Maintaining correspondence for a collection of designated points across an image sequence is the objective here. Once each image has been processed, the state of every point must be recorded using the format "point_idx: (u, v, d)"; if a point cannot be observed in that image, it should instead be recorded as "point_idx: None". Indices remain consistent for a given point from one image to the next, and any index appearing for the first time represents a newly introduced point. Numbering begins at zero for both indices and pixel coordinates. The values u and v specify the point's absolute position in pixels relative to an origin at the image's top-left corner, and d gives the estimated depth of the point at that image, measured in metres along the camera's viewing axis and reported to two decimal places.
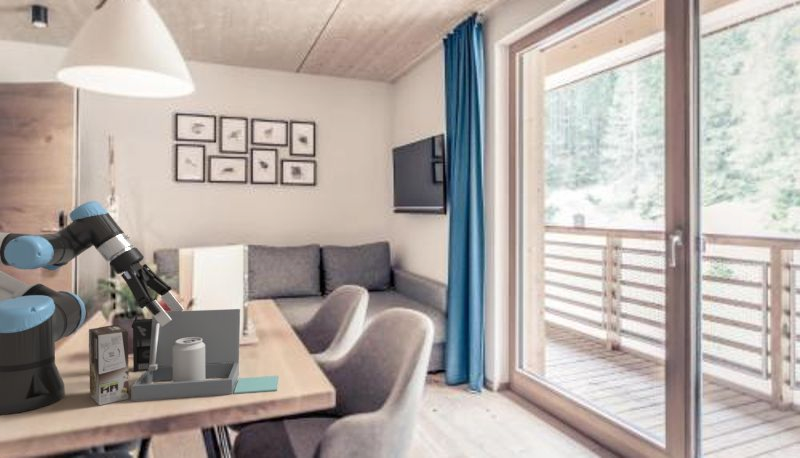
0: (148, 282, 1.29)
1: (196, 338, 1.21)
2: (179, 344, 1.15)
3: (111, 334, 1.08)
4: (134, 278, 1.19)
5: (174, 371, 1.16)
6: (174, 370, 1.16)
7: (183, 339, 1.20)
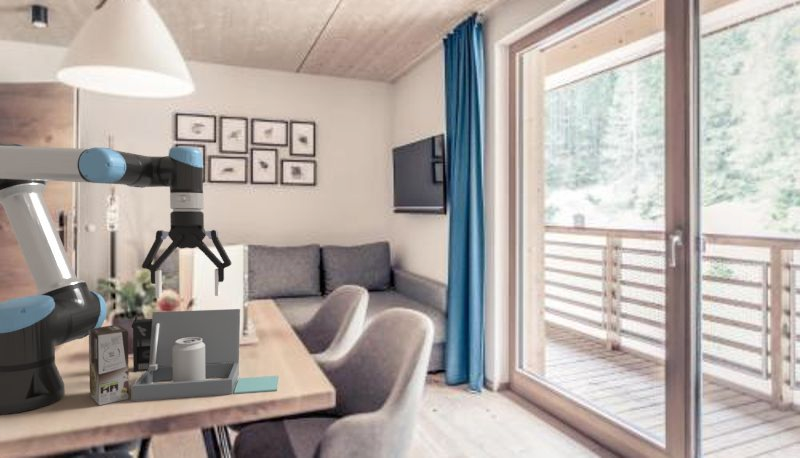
0: None
1: (196, 338, 1.21)
2: (179, 344, 1.15)
3: (111, 334, 1.08)
4: (154, 241, 1.15)
5: (174, 371, 1.16)
6: (174, 370, 1.16)
7: (183, 339, 1.20)
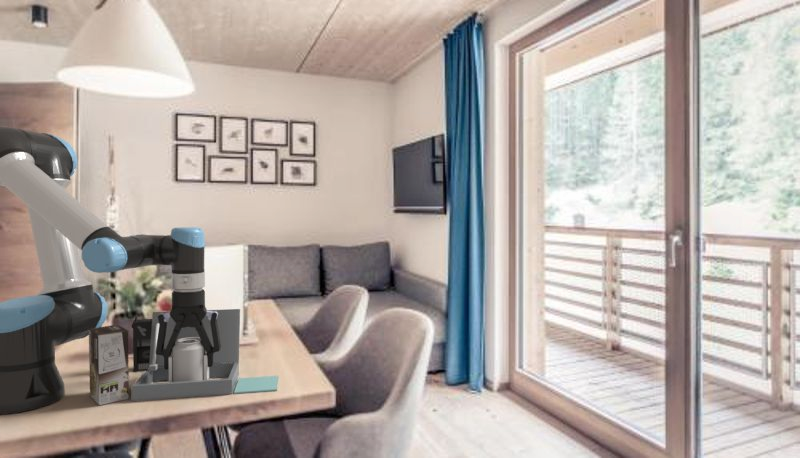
0: None
1: (196, 338, 1.21)
2: (179, 344, 1.15)
3: (111, 334, 1.08)
4: None
5: (174, 371, 1.16)
6: (174, 370, 1.16)
7: (183, 339, 1.20)
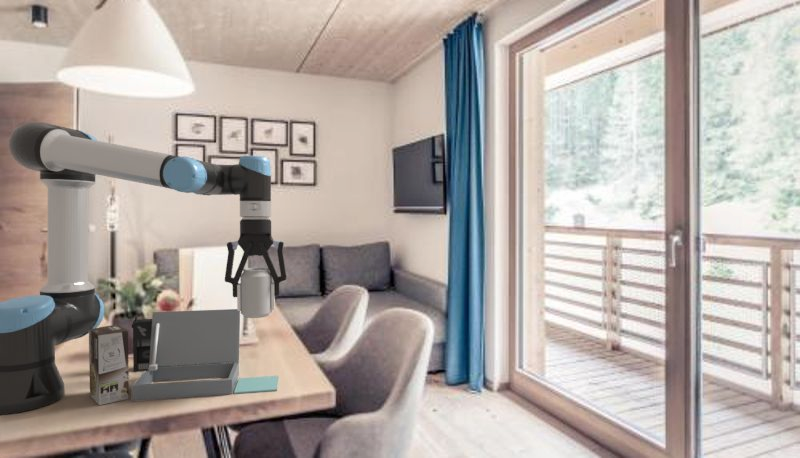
0: None
1: (262, 268, 1.22)
2: (248, 271, 1.16)
3: (111, 334, 1.08)
4: (228, 253, 1.17)
5: (243, 298, 1.16)
6: (243, 297, 1.16)
7: (249, 268, 1.21)
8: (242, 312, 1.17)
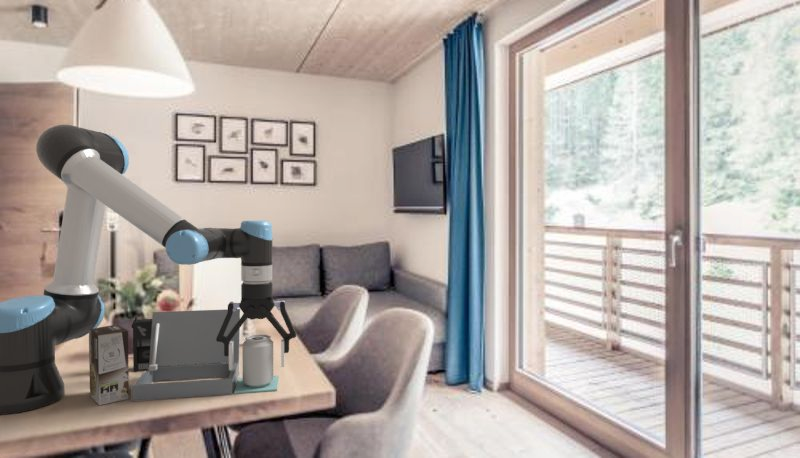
0: None
1: (263, 335, 1.22)
2: (250, 341, 1.17)
3: (111, 334, 1.08)
4: None
5: (245, 367, 1.17)
6: (245, 367, 1.17)
7: (251, 336, 1.21)
8: (244, 381, 1.18)
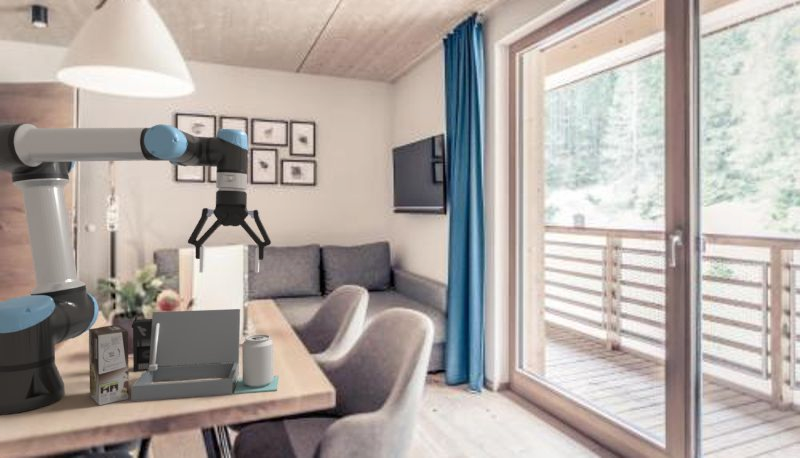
0: None
1: (263, 335, 1.22)
2: (250, 341, 1.17)
3: (111, 334, 1.08)
4: (200, 218, 1.21)
5: (245, 368, 1.17)
6: (245, 367, 1.17)
7: (251, 336, 1.21)
8: (244, 381, 1.18)
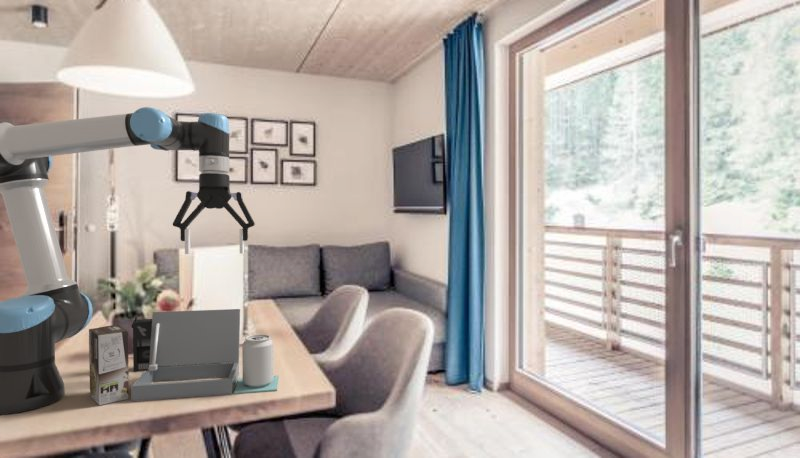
0: None
1: (263, 335, 1.22)
2: (250, 341, 1.17)
3: (111, 334, 1.08)
4: (184, 201, 1.23)
5: (245, 368, 1.17)
6: (245, 367, 1.17)
7: (251, 336, 1.21)
8: (244, 381, 1.18)
